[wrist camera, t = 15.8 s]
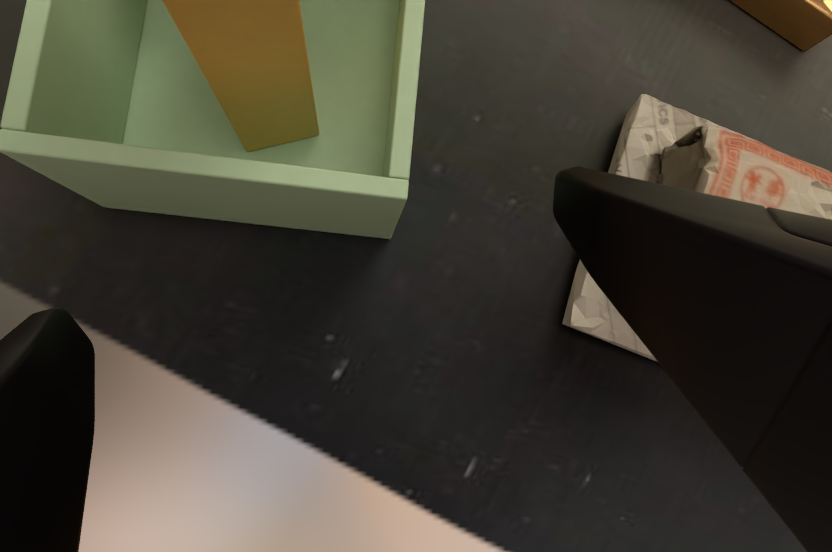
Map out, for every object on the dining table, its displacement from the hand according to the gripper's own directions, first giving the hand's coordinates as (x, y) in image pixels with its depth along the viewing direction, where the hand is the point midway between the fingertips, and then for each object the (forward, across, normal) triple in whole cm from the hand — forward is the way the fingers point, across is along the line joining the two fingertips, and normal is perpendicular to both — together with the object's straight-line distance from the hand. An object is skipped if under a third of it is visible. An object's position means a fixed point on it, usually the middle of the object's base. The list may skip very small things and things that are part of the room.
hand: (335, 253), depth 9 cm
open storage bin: (+13, 0, +1) cm, 13 cm away
